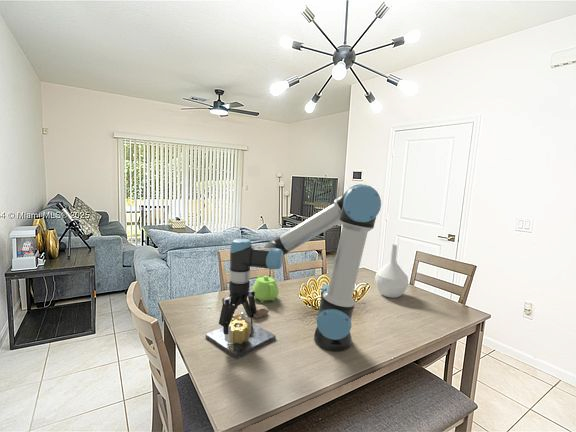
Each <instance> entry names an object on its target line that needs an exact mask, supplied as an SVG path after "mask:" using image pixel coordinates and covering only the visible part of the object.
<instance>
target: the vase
mask: <svg viewBox="0 0 576 432" xmlns="http://www.w3.org/2000/svg"><path fill="white" fill-rule="evenodd" d="M397 251H398V245H397V244H392V245H391V252H390V260H389V262H387V263H386V264H385V265H383V267H381V268H380V269H379V270H378V271H377V272H376V274H375V279H374V281H375V285H376V288H377V290H378V292H379V293H380V294H381V295H382V296H384V297H387V298H390V299H392V298H393V299H396V298H400V297H401V296H402V295H403V294H404V293H405V292H406V290H407V288H408V286H409V276H408V275H407V274H406V273H405V271H404V270H403V269H402V268H401V266H400V265H399V264H398V262H397V254H398V253H397Z"/></svg>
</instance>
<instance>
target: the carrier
mask: <svg viewBox="0 0 576 432" xmlns="http://www.w3.org/2000/svg"><path fill="white" fill-rule="evenodd" d="M245 316H248V315H247V314H246V311H245V312H244V311H240V312H238V313H237V314H233V317H232V320H231V322H233V321H234V320H237V321H242V320H245ZM236 327H241V325H240V324H238V325H236ZM205 338H206V340H208V341H210V342H212V344H215V345H216V346H217V347H219V348H220V349H222V350H223V351H224V352H226V353H227V354H229V356H231V357H233V358H234V359H235V360H237V359H238V358H239V359H240V358H241V357H242V356H244V355H247V354H249V353H251V352H253V351H255V350H257V349H258V348H260V347H262V346H264V345H267V344H269V343H271V342H272V341H274V340H276V338H277V337H276V334H274V333H272V332H270V331H268V330H266V329H264V328H262V327H261V326H259V325H257V324H255V323H254V318H252V324H251V333H250V336H249V340H248V341H246V340H245V341H243V343H241V344H239V342H234V343H228V342H226V341H225V334H224V333H223V326H221V327H220V328H217V329H215V330H212V331H210V332H207V333H205Z"/></svg>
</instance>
